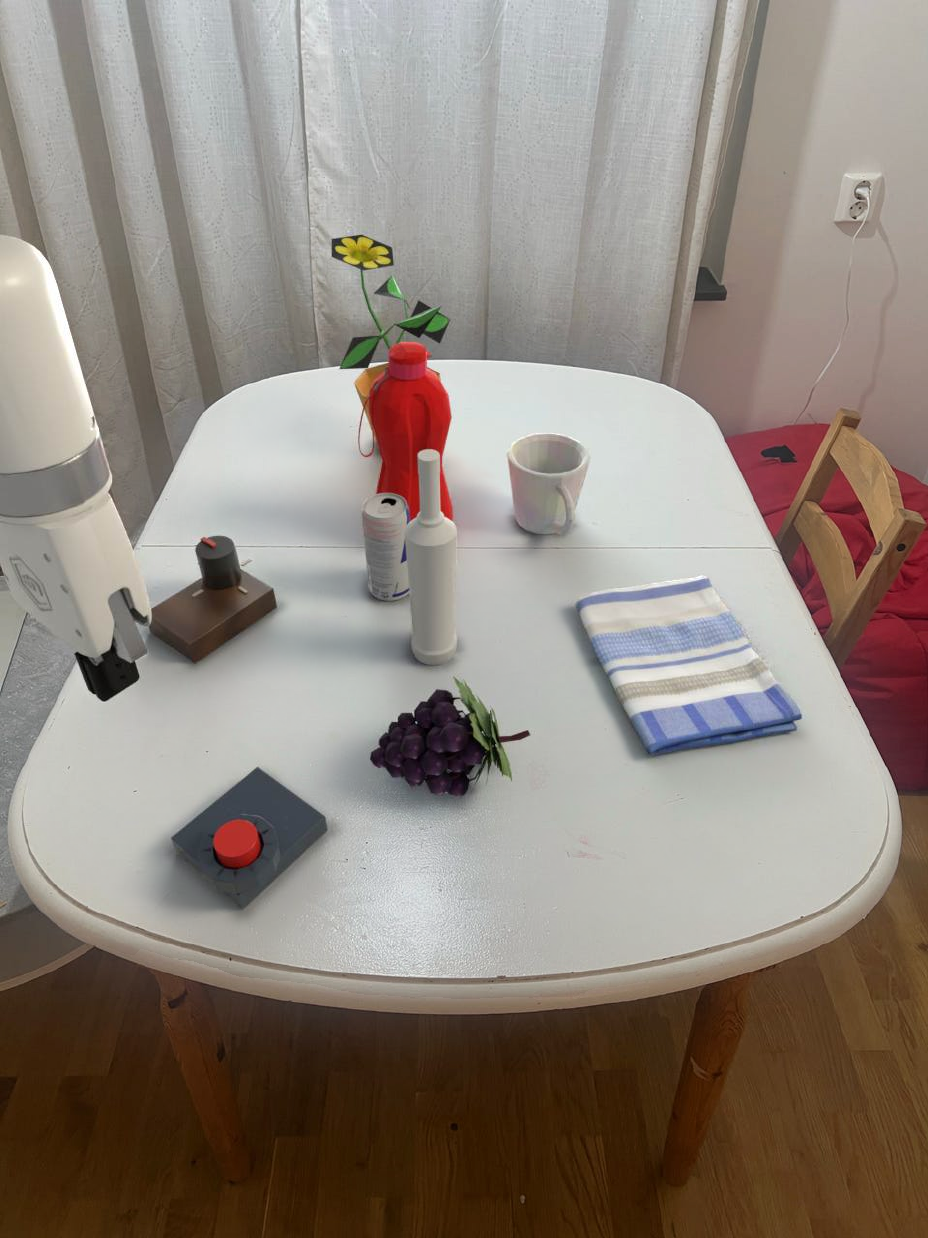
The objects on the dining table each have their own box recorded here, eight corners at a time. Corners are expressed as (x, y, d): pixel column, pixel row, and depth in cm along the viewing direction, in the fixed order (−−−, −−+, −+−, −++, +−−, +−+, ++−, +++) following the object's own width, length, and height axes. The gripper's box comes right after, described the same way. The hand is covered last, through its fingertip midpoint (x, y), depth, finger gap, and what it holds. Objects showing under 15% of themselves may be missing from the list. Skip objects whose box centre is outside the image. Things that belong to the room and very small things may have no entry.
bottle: (405, 662, 93) (393, 466, 77) (418, 631, 97) (409, 437, 80) (451, 670, 92) (449, 473, 76) (462, 638, 96) (462, 444, 79)
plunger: (236, 876, 70) (232, 865, 69) (208, 852, 72) (204, 841, 70) (269, 846, 72) (266, 835, 71) (241, 824, 74) (237, 812, 72)
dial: (249, 575, 100) (242, 542, 96) (220, 594, 97) (211, 561, 94) (224, 561, 102) (217, 528, 98) (195, 579, 99) (186, 546, 96)
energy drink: (419, 578, 104) (416, 496, 96) (404, 606, 100) (399, 522, 92) (378, 570, 105) (371, 488, 97) (361, 597, 101) (353, 514, 93)
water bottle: (360, 517, 113) (343, 336, 97) (439, 504, 116) (436, 325, 99) (374, 558, 107) (358, 372, 90) (458, 544, 109) (458, 360, 92)
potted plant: (367, 489, 118) (348, 270, 98) (327, 426, 131) (303, 221, 111) (483, 462, 124) (488, 249, 104) (434, 404, 137) (430, 204, 116)
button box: (242, 922, 71) (233, 896, 68) (168, 857, 75) (158, 831, 73) (333, 835, 77) (329, 809, 74) (261, 780, 82) (254, 753, 79)
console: (195, 664, 93) (189, 643, 91) (137, 624, 98) (130, 603, 96) (288, 599, 101) (285, 579, 99) (231, 565, 106) (227, 545, 104)
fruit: (389, 765, 87) (531, 728, 86) (390, 844, 78) (548, 804, 77) (356, 689, 81) (507, 648, 80) (352, 764, 72) (522, 720, 71)
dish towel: (706, 586, 103) (711, 568, 101) (804, 733, 86) (812, 714, 84) (570, 606, 100) (572, 588, 99) (643, 762, 83) (647, 743, 81)
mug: (567, 491, 118) (574, 427, 111) (606, 556, 107) (616, 489, 101) (495, 501, 116) (497, 437, 110) (527, 568, 106) (532, 501, 99)
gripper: (-90, 448, 51) (11, 666, 63) (51, 548, 44) (133, 771, 56) (28, 403, 55) (100, 615, 67) (172, 488, 48) (223, 706, 61)
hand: (115, 685), depth 62 cm, fingers closed
